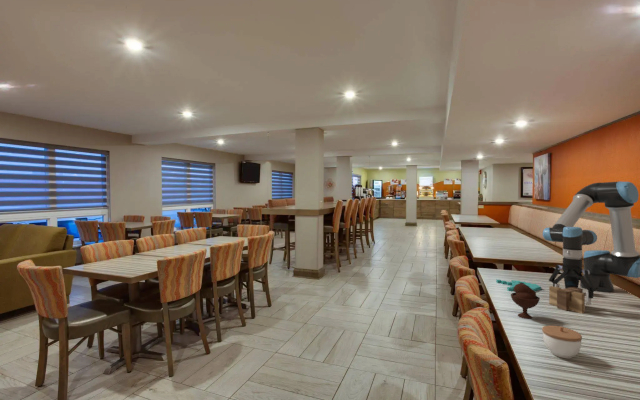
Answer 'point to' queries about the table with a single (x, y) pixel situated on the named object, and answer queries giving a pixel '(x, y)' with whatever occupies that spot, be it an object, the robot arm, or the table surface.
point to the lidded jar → (562, 341)
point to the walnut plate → (566, 297)
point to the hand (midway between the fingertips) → (572, 300)
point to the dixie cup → (571, 281)
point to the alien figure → (514, 282)
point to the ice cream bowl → (524, 299)
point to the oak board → (575, 303)
